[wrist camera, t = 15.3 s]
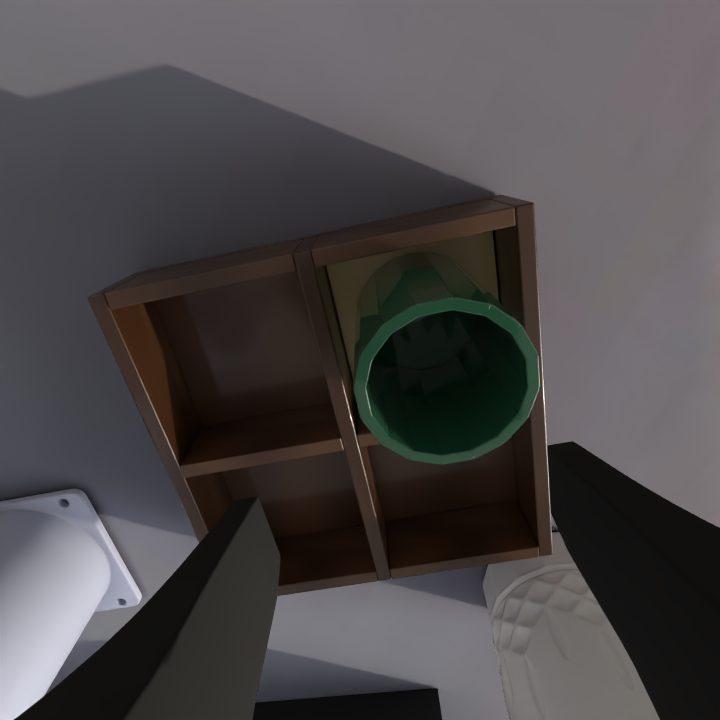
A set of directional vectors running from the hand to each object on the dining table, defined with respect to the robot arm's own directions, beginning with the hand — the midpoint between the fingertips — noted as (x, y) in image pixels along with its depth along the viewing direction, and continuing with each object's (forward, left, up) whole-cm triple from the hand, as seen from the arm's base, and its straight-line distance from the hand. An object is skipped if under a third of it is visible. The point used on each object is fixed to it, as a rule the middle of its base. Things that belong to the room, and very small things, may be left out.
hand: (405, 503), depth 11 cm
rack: (-2, -2, -9) cm, 10 cm away
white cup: (+6, -15, -10) cm, 19 cm away
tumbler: (+2, +2, -9) cm, 9 cm away
